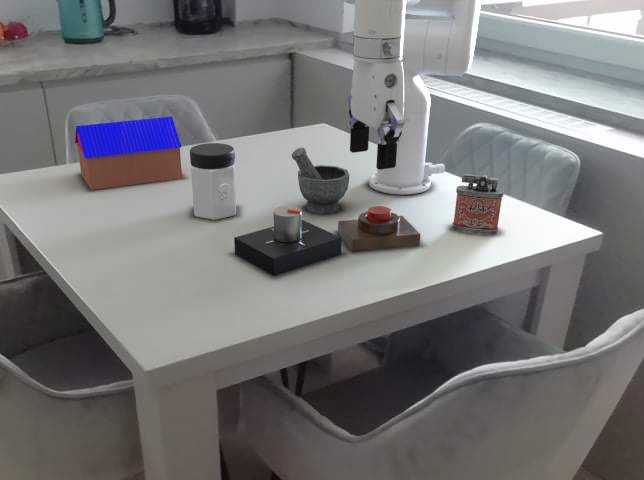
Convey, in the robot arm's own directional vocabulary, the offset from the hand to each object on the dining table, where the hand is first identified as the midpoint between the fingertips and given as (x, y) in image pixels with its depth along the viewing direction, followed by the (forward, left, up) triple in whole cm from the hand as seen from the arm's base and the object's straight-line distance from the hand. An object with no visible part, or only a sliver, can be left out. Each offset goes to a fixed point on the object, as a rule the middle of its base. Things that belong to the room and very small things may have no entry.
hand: (372, 159), depth 123 cm
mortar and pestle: (+1, -18, -14) cm, 23 cm away
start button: (-2, 0, -11) cm, 11 cm away
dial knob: (+15, 0, -11) cm, 19 cm away
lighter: (-20, +3, -14) cm, 25 cm away
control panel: (+15, 0, -14) cm, 21 cm away
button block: (-2, 0, -14) cm, 14 cm away
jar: (+20, -24, -14) cm, 34 cm away
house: (+30, -52, -14) cm, 62 cm away
